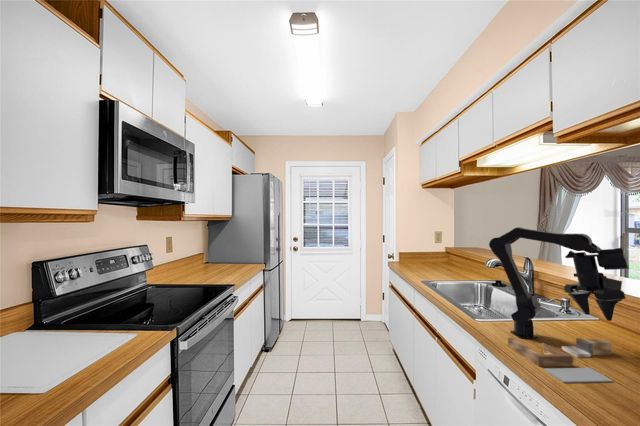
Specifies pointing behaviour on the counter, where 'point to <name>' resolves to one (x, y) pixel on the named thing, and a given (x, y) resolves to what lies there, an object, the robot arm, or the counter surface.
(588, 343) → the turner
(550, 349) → the shard
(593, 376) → the mat
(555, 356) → the corner fence
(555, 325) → the counter surface
